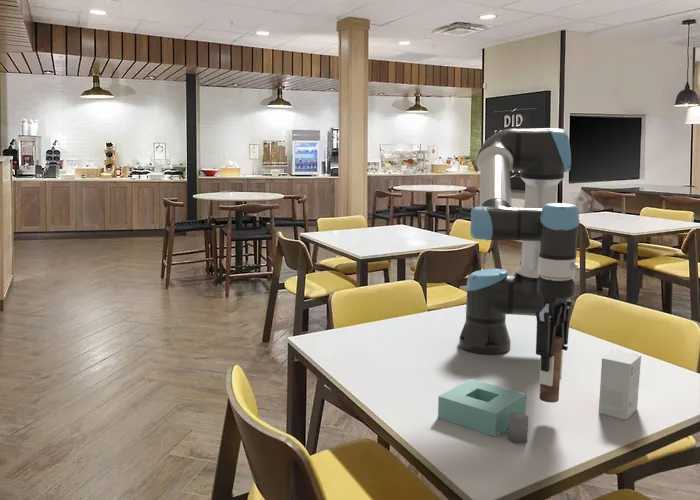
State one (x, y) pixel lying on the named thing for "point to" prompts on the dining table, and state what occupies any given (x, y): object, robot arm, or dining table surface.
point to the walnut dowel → (552, 391)
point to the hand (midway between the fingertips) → (550, 380)
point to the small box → (619, 384)
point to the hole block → (480, 406)
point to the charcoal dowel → (518, 427)
